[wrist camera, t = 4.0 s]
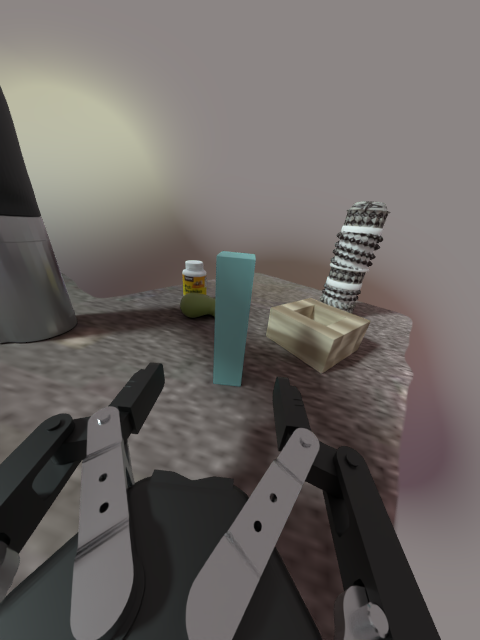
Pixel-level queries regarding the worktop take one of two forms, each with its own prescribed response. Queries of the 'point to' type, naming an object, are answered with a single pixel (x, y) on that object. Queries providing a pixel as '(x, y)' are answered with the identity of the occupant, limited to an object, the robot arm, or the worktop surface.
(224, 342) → the peg
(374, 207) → the decorative candle
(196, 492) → the robot arm
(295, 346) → the socket block
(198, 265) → the supplement bottle
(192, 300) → the pear
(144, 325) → the worktop surface
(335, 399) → the worktop surface
